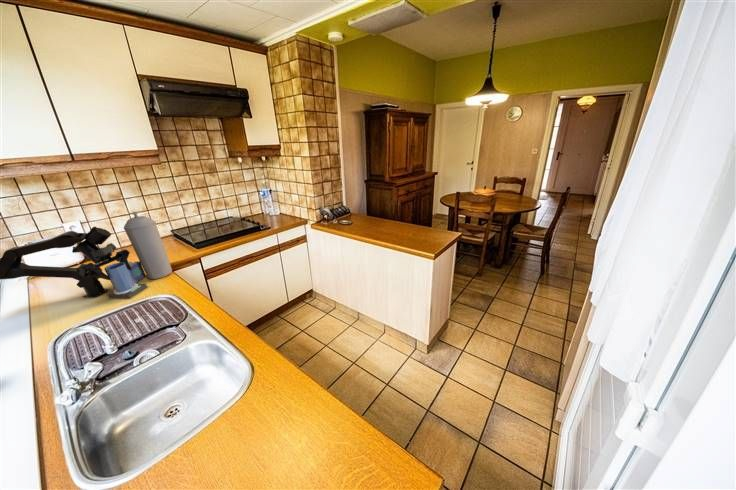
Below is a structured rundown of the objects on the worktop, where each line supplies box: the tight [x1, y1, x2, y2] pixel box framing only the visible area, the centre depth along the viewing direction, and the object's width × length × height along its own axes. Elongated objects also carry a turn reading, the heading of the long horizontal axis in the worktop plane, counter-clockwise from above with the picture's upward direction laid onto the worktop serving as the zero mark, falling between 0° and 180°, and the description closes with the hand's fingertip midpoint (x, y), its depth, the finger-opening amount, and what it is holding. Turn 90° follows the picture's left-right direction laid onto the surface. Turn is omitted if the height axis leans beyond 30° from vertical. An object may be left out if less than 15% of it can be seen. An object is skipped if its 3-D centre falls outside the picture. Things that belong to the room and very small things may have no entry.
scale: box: [107, 282, 148, 299], centre depth 127 cm, size 11×10×3 cm
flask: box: [128, 260, 147, 284], centre depth 137 cm, size 9×3×11 cm, turn 179°
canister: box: [123, 211, 173, 280], centre depth 136 cm, size 13×13×35 cm
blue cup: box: [104, 262, 135, 292], centre depth 124 cm, size 7×7×12 cm
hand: (121, 274), depth 123 cm, fingers open, 9 cm apart
